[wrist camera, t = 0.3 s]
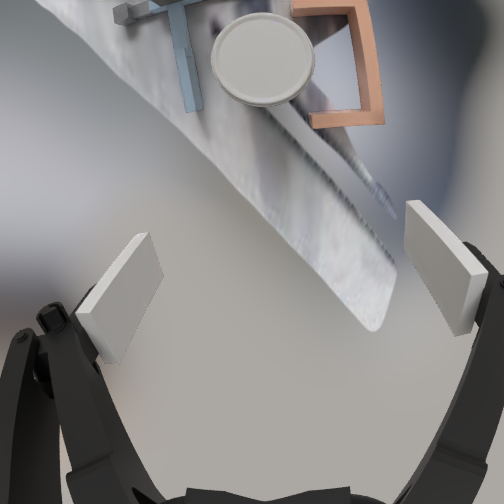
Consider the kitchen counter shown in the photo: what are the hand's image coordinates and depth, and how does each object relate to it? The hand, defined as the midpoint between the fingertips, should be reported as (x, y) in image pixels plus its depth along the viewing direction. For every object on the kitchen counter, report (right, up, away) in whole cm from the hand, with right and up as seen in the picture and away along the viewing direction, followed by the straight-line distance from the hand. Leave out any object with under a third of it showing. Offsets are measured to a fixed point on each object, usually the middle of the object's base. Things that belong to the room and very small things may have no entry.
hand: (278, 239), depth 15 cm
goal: (+9, +23, +18) cm, 30 cm away
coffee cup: (0, +22, +19) cm, 29 cm away
